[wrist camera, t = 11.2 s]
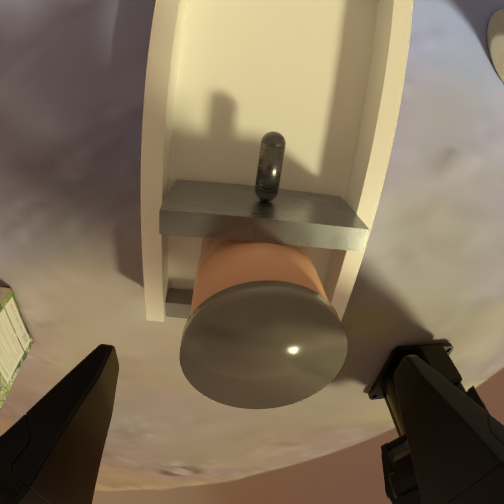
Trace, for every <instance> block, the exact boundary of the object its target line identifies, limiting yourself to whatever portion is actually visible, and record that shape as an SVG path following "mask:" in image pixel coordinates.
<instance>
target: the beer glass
mask: <svg viewBox="0 0 504 504" xmlns="http://www.w3.org/2000/svg"><path fill="white" fill-rule="evenodd" d="M487 43H488V49H489V54H490V57H491V60H492V63H493V65H494V68H495V70H496V72H497V74H498V75H499V77H500V78H501V80H502V81H503V82H504V9H502V10H498V11H496V12H495V13H494V14H493V15H492V16H491V18H490V20H489V23H488V27H487Z"/></svg>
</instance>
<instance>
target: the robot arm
mask: <svg viewBox="0 0 504 504" xmlns="http://www.w3.org/2000/svg"><path fill="white" fill-rule="evenodd" d="M452 350H453V346H452V345H451V343H443V344H431V345H417V346H401V347H397V348H395V349H394V350H393V351H392V353H391V355H390V357H389V359H388V361H387V362H386V364H385V366H384V368H383V370H382V371H381V373H380V375H379V377H378V378H377V380H376V382H375V384H374V385H373V387H372V389H371V390H370V392H369V394H368V395H369V398H370V399H371V400H373V399H382V398H385V401H386V403H387V406H388V408H389V411H390V414H391V416H392V419H393V422H394V424H395V427H396V430H397V432H398V435H399V437H398V438H397V439H395V440H393V441H391V442H389V443H386V444H384V445H382V446H381V450H382V462H383V472H384V481H385V491H386V495H387V498H388V499H390V500H391V502H392V503H393V504H504V426H503V425H502V424H501V423H500V422H499V421H497V420H496V419H495V418H493V417H492V416H491V414H490V413H489V411H488V409H487V407H486V405H485V403H484V402H483V400H482V398H481V397H480V395H479V394H478V392H477V391H476V389H475V388H474V386H472V387H471V388H470V389H468V391H467V392H466V391H465V389H464V387H463V385H462V384H461V381H462V377H461V375H460V374H459V372H458V370H457V369H456V367H455V365H454V364H453V362H452V360H451V359H450V357H449V354H450V353H451V351H452ZM118 373H119V363H118V359H117V354H116V350H115V347H114V346H112V345H106V344H101V345H99V346H98V347H97V348H96V349H94V350H93V351H92V352H91V353H90V354H89V355H88V356H87V357H86V358H85V359H83V360H82V361H81V362H80V363H79V364H78V365H77V366H76V367H75V368H74V369H73V370H71V371H70V372H69V373H68V374H67V375H66V376H65V377H64V378H63V379H62V380H61V381H60V382H59V383H57V384H56V385H55V386H54V387H53V388H52V389H51V390H50V391H49V392H48V393H47V394H46V395H45V396H44V397H43V398H41V399H40V400H39V401H38V402H37V403H36V404H35V405H34V406H33V407H32V408H31V409H30V410H29V411H28V412H27V413H26V415H23V416H22V417H21V418H20V419H19V420H18V421H17V422H16V423H15V424H14V425H13V426H12V427H11V428H10V429H8V430H7V431H6V432H5V433H4V434H3V435H1V436H0V504H92V500H93V495H94V490H95V485H96V480H97V476H98V471H99V467H100V462H101V458H102V454H103V449H104V445H105V441H106V437H107V433H108V429H109V425H110V421H111V417H112V412H113V405H114V398H115V391H116V385H117V379H118Z"/></svg>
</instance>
